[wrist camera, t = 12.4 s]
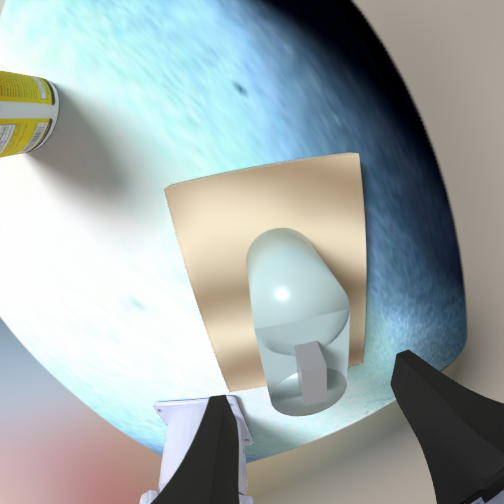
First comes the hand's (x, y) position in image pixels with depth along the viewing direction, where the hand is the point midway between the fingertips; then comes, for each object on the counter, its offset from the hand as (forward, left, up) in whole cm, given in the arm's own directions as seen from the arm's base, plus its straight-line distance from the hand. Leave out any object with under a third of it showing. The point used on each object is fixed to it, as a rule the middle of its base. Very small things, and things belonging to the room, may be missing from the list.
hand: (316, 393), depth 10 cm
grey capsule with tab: (0, 0, -8) cm, 8 cm away
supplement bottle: (+16, +14, -10) cm, 24 cm away
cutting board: (0, 0, -9) cm, 9 cm away
